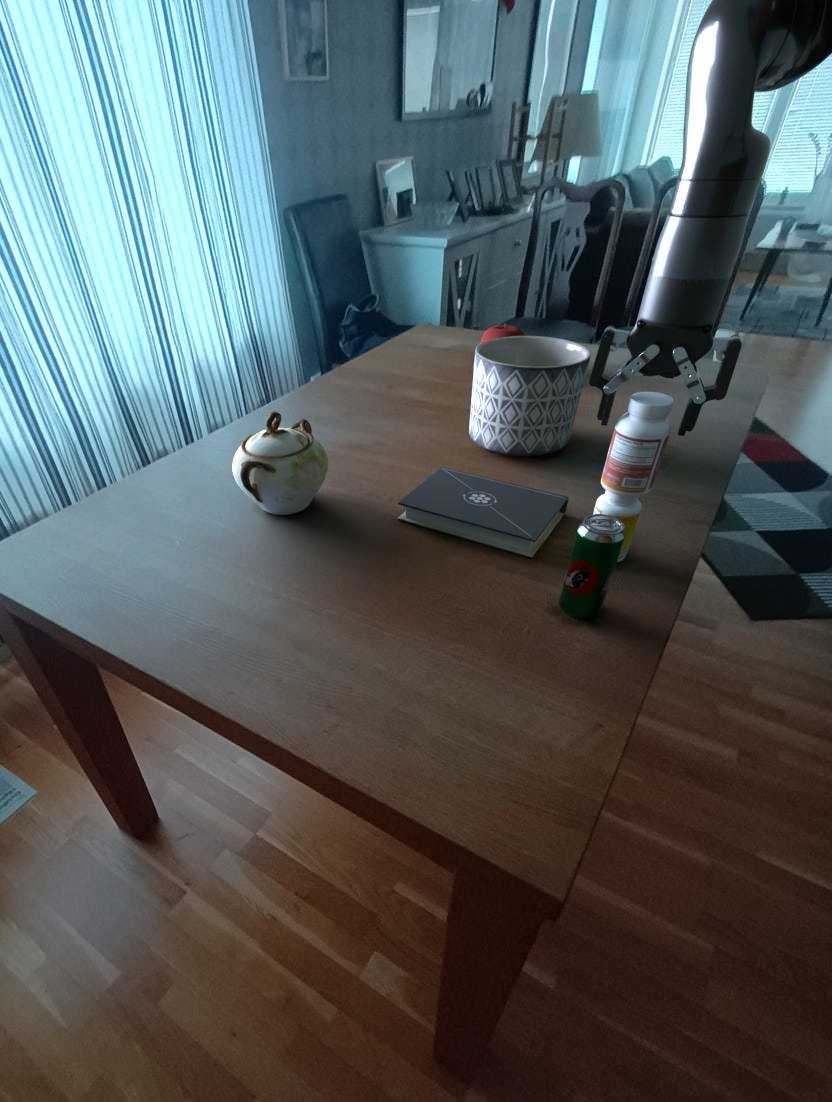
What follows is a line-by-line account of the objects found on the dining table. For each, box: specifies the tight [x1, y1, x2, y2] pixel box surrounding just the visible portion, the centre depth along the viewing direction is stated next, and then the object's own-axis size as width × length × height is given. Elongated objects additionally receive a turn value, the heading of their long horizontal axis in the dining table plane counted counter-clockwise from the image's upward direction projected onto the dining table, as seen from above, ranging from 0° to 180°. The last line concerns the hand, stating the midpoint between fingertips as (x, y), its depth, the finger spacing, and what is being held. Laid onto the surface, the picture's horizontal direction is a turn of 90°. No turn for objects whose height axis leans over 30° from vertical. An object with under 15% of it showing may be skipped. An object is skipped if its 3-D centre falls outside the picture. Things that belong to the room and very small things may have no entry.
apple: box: [479, 322, 526, 344], centre depth 136 cm, size 11×11×12 cm
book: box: [397, 466, 569, 559], centre depth 88 cm, size 22×15×3 cm
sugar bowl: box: [231, 410, 329, 516], centre depth 90 cm, size 20×15×15 cm
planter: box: [468, 335, 592, 457], centre depth 104 cm, size 19×19×16 cm
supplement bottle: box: [592, 489, 643, 563], centre depth 77 cm, size 6×6×10 cm
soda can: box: [558, 513, 625, 620], centre depth 68 cm, size 5×5×12 cm
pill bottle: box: [600, 391, 675, 497], centre depth 70 cm, size 6×6×11 cm
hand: (642, 428), depth 69 cm, fingers open, 8 cm apart
